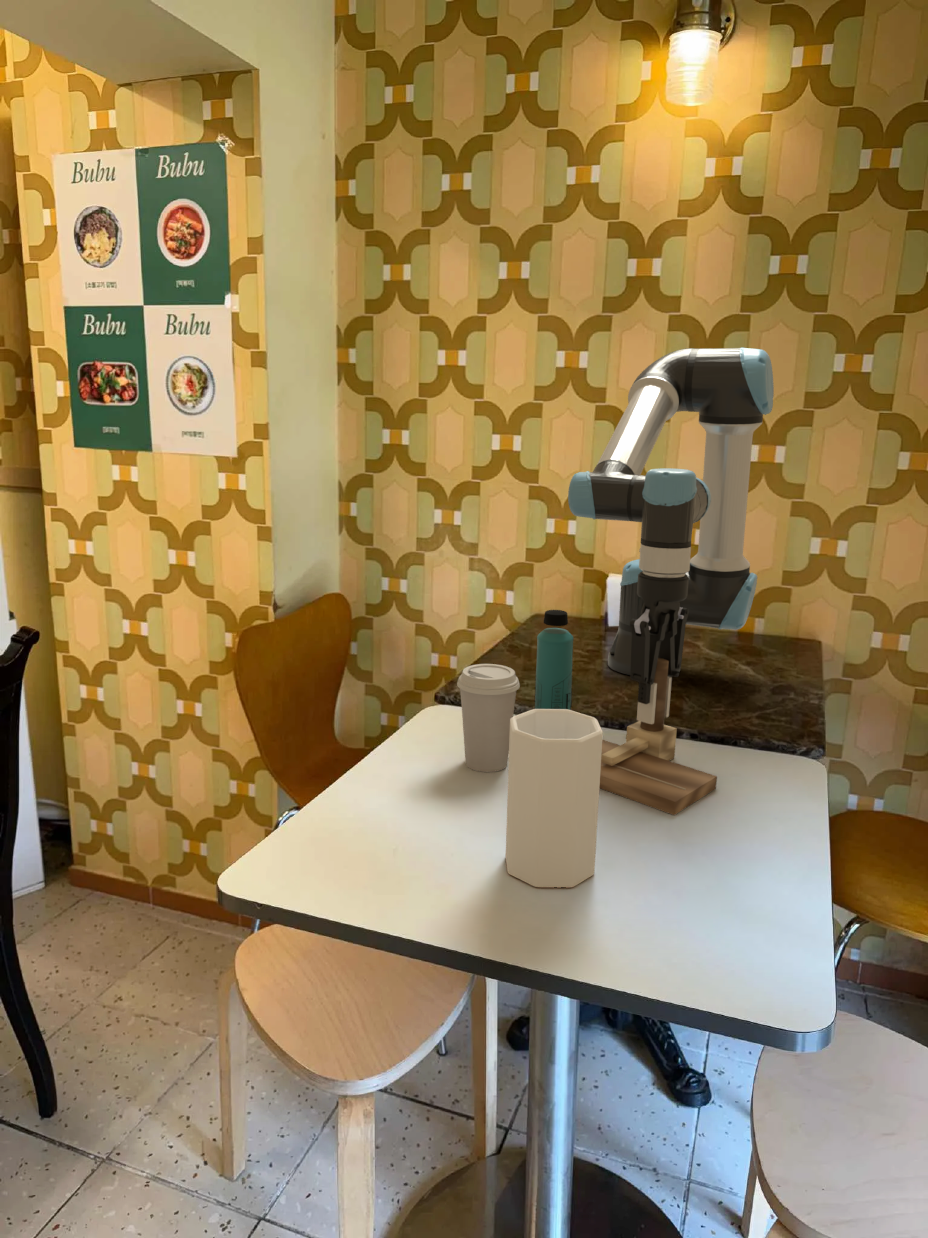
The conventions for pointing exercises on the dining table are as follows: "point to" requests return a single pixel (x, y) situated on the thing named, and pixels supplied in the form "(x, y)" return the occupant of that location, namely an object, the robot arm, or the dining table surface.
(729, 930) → the dining table surface
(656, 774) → the board
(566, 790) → the cup
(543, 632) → the beverage bottle
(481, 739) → the coffee cup
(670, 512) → the robot arm
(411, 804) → the dining table surface
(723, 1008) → the dining table surface
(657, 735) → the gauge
